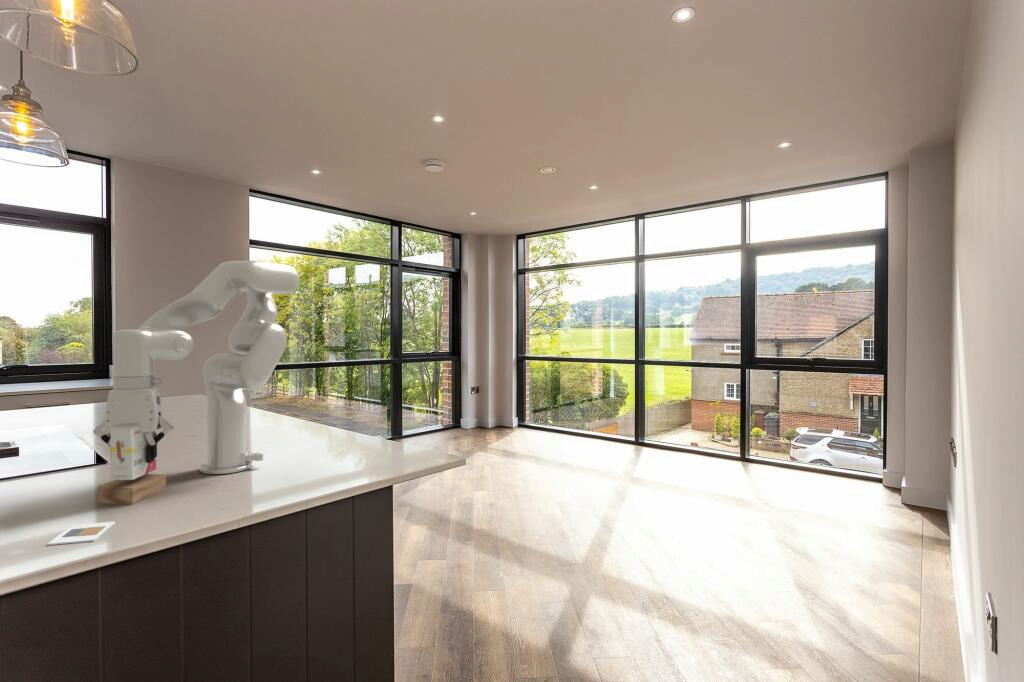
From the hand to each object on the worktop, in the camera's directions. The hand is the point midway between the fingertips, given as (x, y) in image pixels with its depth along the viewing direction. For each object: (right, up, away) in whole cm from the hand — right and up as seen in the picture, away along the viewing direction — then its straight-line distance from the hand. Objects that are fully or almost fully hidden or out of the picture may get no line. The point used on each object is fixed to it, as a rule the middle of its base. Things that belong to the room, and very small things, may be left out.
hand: (134, 461), depth 117 cm
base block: (0, -8, 0) cm, 8 cm away
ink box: (0, -3, 0) cm, 3 cm away
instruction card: (+6, -9, -21) cm, 24 cm away
